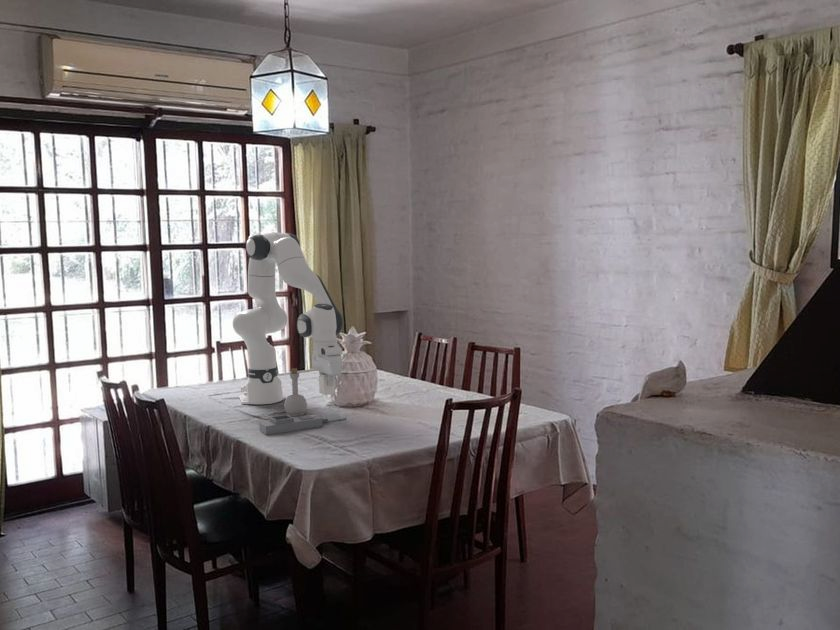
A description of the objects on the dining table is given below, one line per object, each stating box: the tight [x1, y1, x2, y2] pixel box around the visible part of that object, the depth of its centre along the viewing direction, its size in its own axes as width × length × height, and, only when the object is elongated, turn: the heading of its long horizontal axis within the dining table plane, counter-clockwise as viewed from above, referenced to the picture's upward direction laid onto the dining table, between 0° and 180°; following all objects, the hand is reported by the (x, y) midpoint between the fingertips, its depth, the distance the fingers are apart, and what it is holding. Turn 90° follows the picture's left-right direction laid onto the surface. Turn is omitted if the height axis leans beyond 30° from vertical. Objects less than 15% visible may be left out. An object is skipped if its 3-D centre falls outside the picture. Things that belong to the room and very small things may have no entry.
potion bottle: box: [283, 367, 308, 417], centre depth 303 cm, size 9×9×18 cm
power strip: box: [259, 414, 328, 436], centre depth 282 cm, size 7×25×4 cm, turn 119°
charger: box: [318, 374, 336, 396], centre depth 293 cm, size 4×4×7 cm
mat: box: [318, 412, 347, 424], centre depth 294 cm, size 10×10×1 cm
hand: (327, 384), depth 293 cm, fingers closed on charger, 4 cm apart
